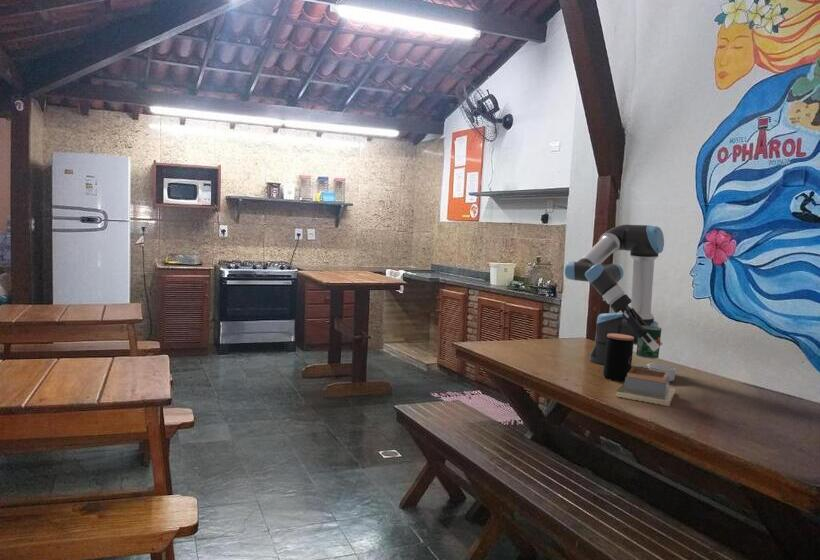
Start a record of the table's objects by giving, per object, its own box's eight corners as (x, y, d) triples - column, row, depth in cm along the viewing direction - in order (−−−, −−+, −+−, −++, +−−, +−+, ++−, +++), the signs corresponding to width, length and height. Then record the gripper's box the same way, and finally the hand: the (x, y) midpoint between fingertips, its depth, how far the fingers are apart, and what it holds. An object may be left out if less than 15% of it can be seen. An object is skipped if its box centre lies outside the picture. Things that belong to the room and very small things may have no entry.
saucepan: (622, 375, 256) (623, 362, 256) (664, 376, 261) (665, 363, 260) (637, 382, 245) (638, 369, 245) (681, 383, 249) (682, 370, 249)
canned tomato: (650, 359, 219) (653, 329, 218) (631, 354, 225) (634, 325, 224) (662, 357, 223) (666, 328, 222) (644, 353, 230) (647, 324, 229)
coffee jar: (632, 383, 243) (636, 339, 242) (604, 380, 245) (609, 336, 243) (627, 376, 254) (631, 334, 252) (600, 374, 256) (605, 332, 254)
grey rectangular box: (625, 384, 239) (627, 363, 239) (674, 393, 231) (676, 371, 230) (616, 396, 220) (618, 373, 219) (669, 406, 211) (671, 382, 211)
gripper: (614, 303, 239) (653, 349, 233) (603, 307, 221) (645, 357, 215) (629, 291, 236) (669, 338, 230) (620, 294, 218) (663, 345, 212)
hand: (658, 347), depth 222 cm, fingers closed on canned tomato, 8 cm apart
